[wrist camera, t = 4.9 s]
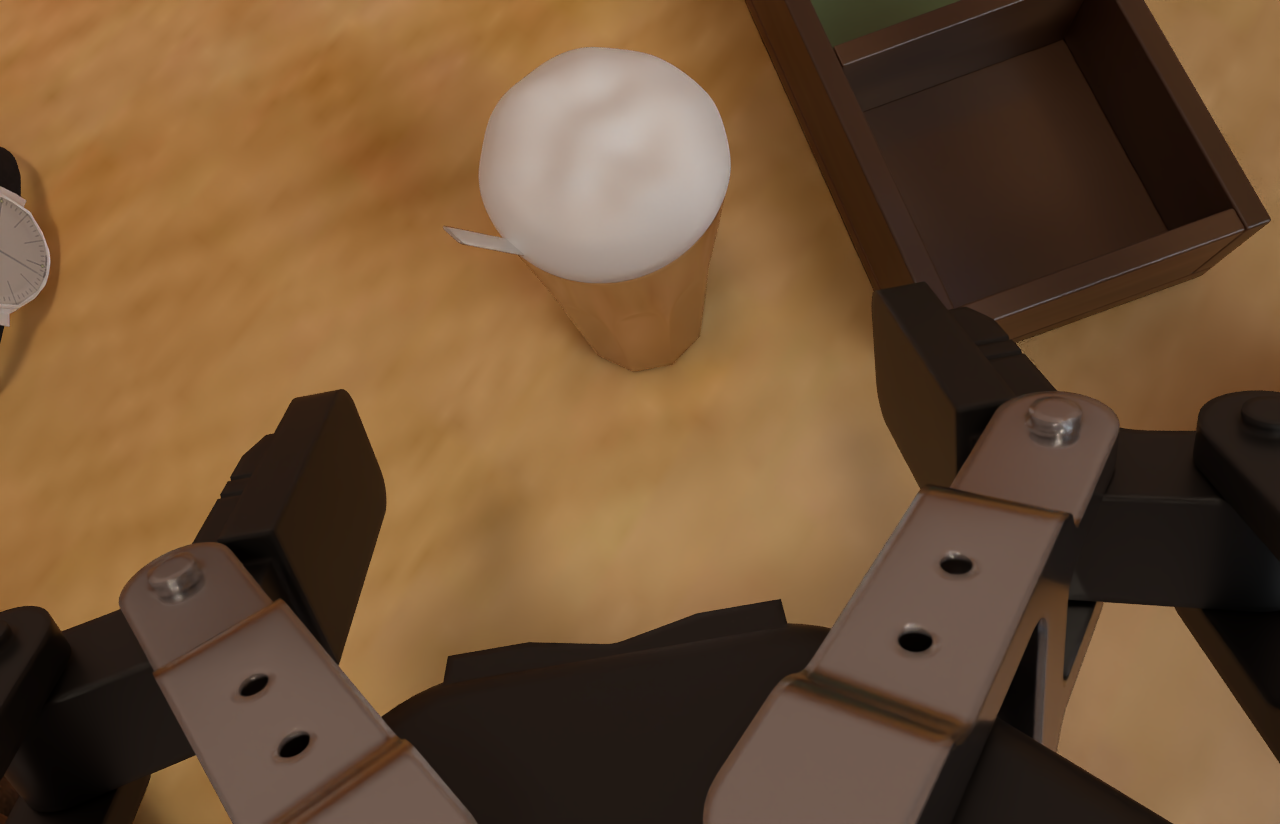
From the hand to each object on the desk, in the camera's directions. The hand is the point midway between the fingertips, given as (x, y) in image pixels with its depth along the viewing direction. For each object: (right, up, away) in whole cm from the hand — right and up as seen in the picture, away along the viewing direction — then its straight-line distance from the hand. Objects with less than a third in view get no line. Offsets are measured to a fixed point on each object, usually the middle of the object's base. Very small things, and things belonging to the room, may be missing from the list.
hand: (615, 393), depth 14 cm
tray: (+7, +12, +12) cm, 18 cm away
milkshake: (0, +2, +11) cm, 11 cm away
